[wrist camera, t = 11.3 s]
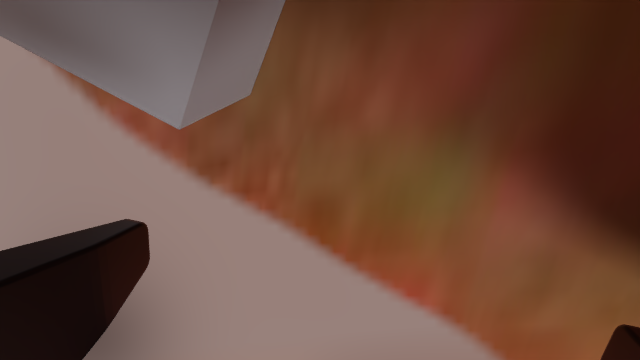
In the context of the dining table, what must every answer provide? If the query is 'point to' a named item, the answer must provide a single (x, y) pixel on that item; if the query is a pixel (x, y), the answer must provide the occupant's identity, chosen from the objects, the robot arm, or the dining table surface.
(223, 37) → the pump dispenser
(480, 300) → the dining table surface
